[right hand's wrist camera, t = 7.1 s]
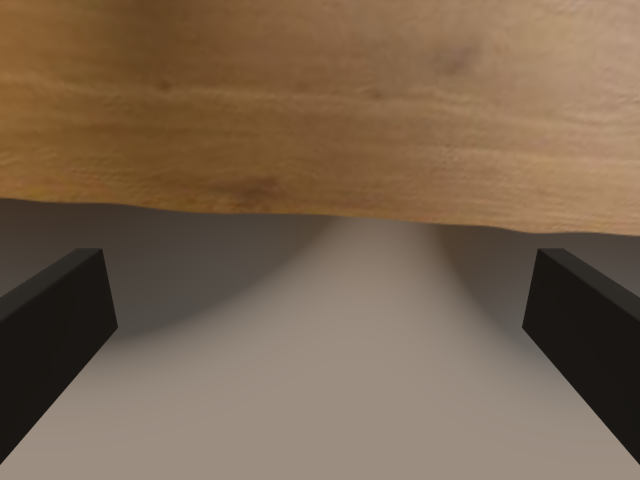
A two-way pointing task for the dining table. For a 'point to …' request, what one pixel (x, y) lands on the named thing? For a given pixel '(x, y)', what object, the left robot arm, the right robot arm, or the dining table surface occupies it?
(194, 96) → the dining table surface
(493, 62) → the dining table surface
